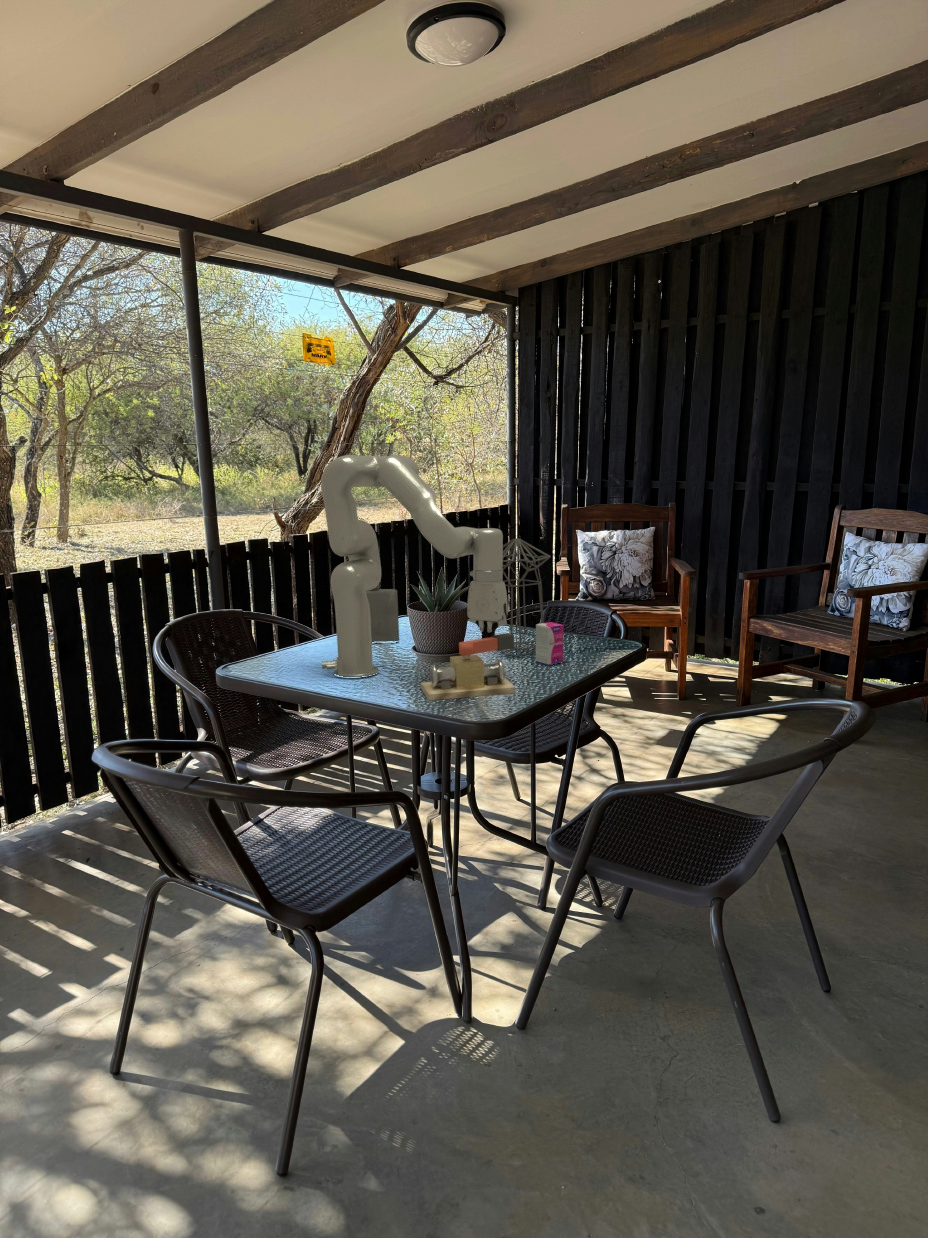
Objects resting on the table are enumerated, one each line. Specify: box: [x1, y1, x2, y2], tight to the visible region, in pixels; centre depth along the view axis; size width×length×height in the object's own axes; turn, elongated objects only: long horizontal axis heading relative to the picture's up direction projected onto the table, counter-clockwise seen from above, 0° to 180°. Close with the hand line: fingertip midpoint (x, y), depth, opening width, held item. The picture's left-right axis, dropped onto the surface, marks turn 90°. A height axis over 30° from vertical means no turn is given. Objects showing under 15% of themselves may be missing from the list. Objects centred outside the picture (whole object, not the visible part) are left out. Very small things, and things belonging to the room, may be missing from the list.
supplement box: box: [535, 621, 564, 667], centre depth 230 cm, size 6×6×12 cm
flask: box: [366, 583, 400, 642], centre depth 265 cm, size 15×6×20 cm, turn 96°
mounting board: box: [420, 676, 517, 701], centre depth 204 cm, size 22×12×2 cm, turn 102°
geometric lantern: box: [494, 537, 551, 658], centre depth 241 cm, size 16×16×35 cm
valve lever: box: [458, 632, 515, 659], centre depth 205 cm, size 16×4×4 cm, turn 124°
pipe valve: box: [429, 654, 505, 690], centre depth 203 cm, size 18×8×8 cm, turn 102°
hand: (488, 645), depth 211 cm, fingers closed
